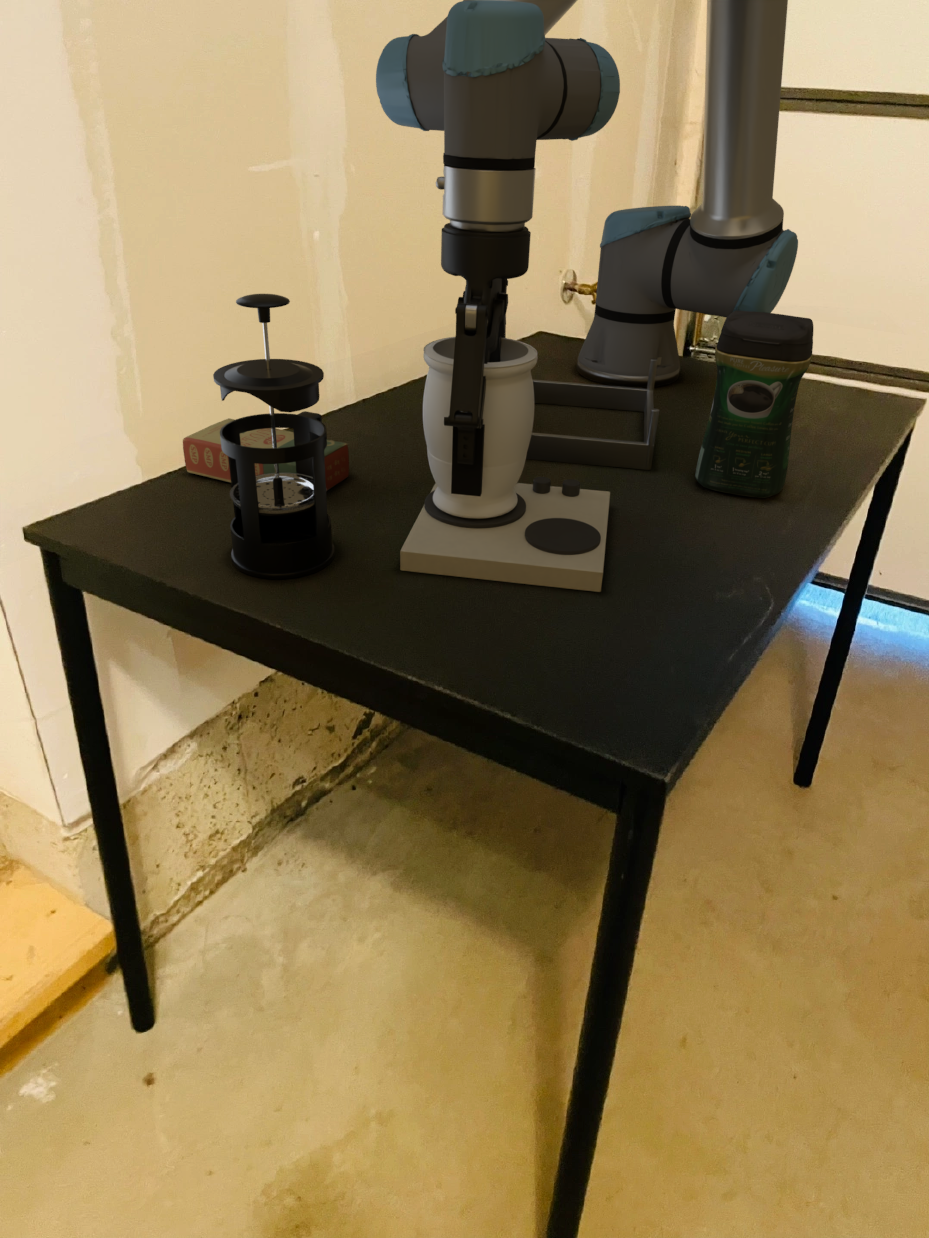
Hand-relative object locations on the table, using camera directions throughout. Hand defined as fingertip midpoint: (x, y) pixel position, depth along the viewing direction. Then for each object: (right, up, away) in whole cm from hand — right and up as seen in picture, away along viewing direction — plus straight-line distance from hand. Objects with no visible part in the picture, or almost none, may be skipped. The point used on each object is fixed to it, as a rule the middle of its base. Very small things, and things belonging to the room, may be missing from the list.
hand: (476, 470), depth 88 cm
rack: (+13, +9, +27) cm, 32 cm away
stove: (+3, -6, +1) cm, 7 cm away
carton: (-23, +1, +12) cm, 26 cm away
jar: (0, -3, +2) cm, 3 cm away
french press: (-18, -8, -3) cm, 20 cm away
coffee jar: (+29, +1, +14) cm, 32 cm away
